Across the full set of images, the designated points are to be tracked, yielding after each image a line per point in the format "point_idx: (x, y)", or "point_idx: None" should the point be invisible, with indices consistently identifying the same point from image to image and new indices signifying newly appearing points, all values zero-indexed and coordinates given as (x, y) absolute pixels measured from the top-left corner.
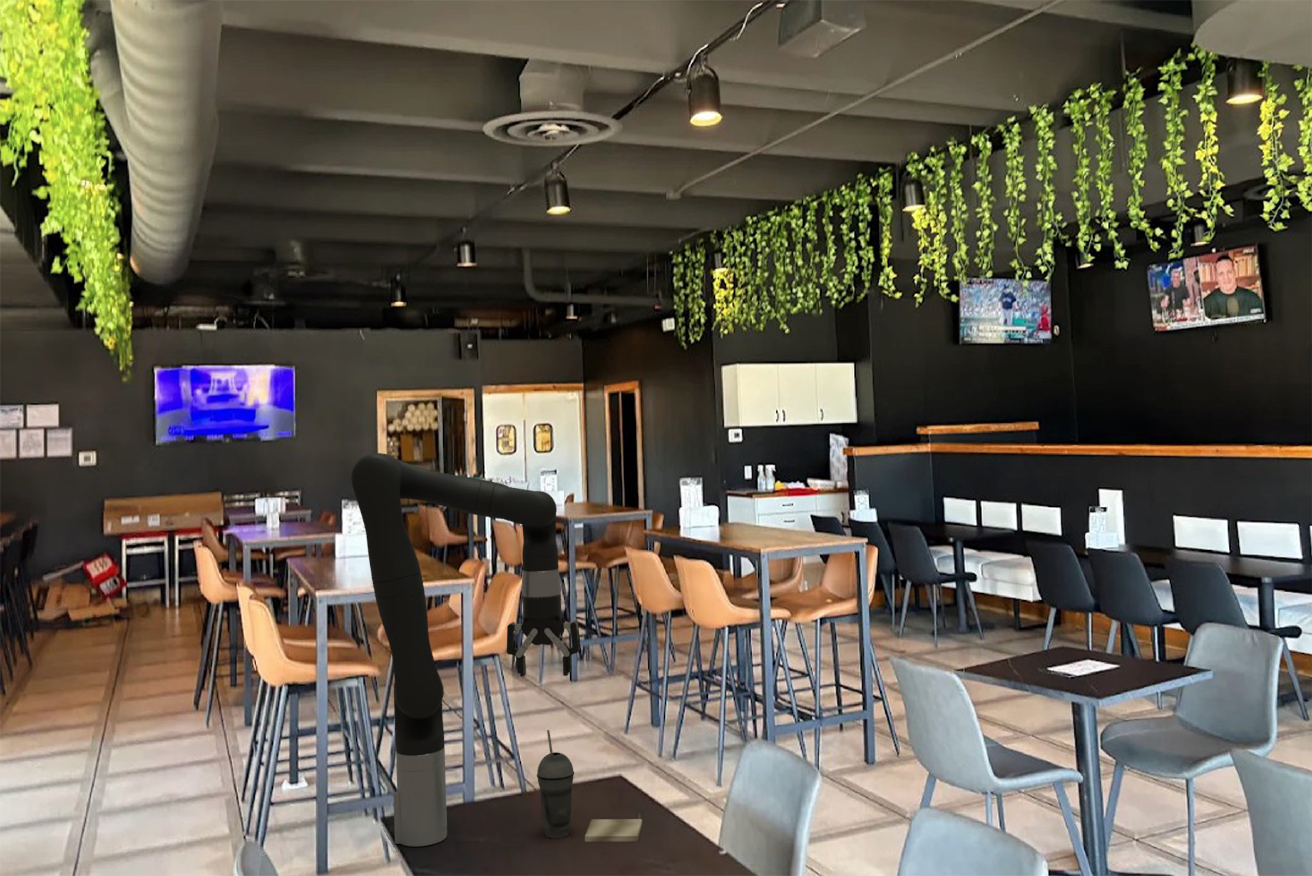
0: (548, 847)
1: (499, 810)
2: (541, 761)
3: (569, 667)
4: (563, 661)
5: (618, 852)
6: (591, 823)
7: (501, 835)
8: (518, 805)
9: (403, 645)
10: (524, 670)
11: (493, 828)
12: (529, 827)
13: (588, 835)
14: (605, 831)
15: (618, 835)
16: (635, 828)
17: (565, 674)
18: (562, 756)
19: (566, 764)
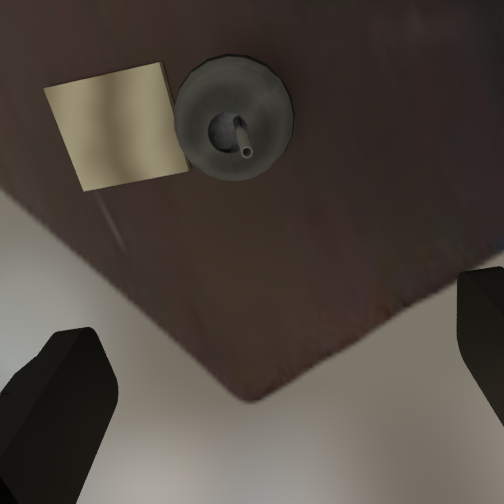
0: (232, 7)
1: (427, 216)
2: (272, 104)
3: (7, 392)
4: (13, 423)
5: (58, 10)
6: (178, 146)
7: (375, 63)
8: (392, 250)
9: None
10: (480, 334)
11: (408, 105)
12: (324, 127)
13: (153, 70)
14: (125, 103)
15: (85, 83)
16: (70, 134)
17: (65, 332)
18: (196, 126)
19: (179, 108)
